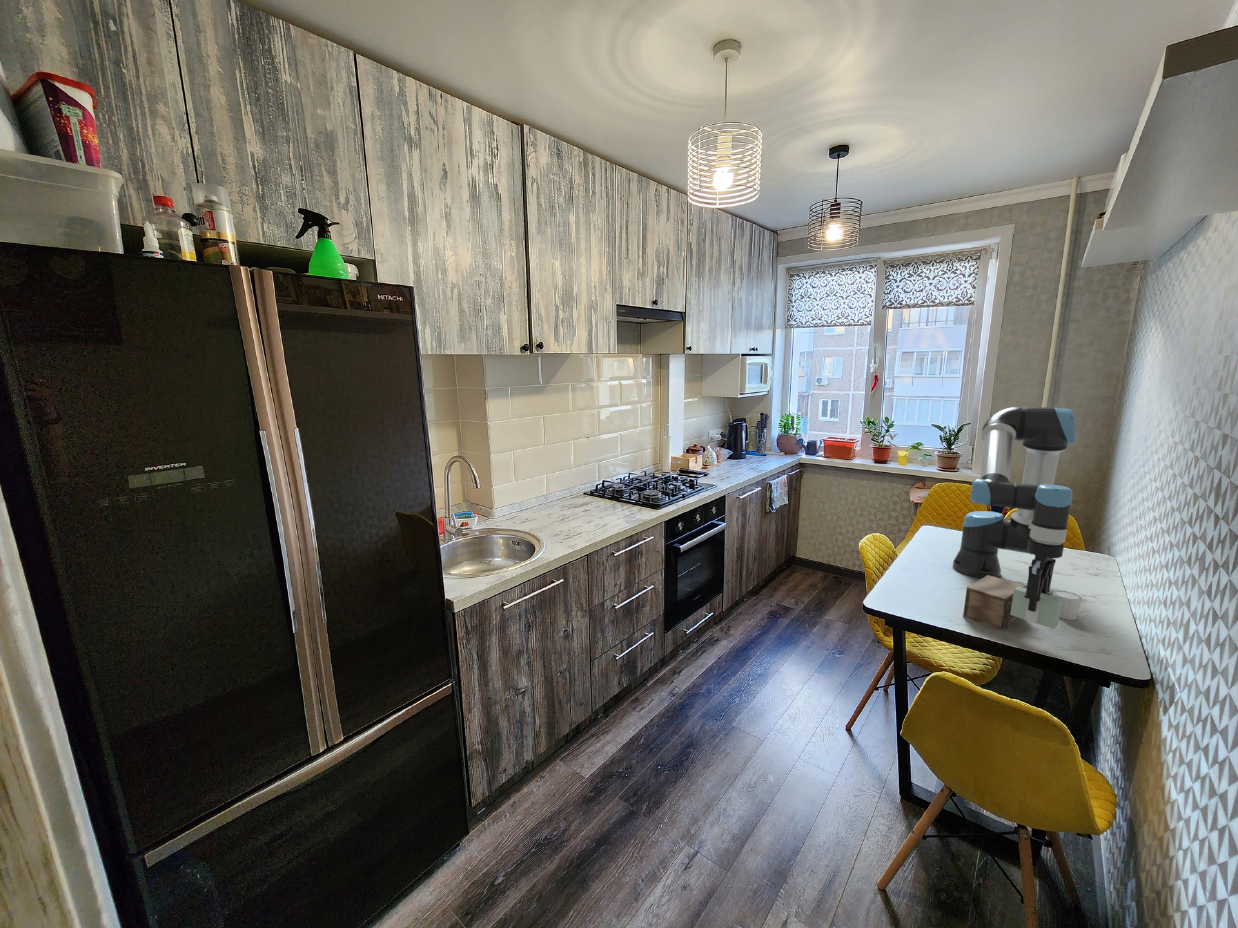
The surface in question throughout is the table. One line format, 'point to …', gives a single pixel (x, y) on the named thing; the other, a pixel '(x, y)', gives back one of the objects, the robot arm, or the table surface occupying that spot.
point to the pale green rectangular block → (1047, 610)
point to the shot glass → (1068, 604)
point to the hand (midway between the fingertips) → (1033, 618)
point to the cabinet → (990, 602)
